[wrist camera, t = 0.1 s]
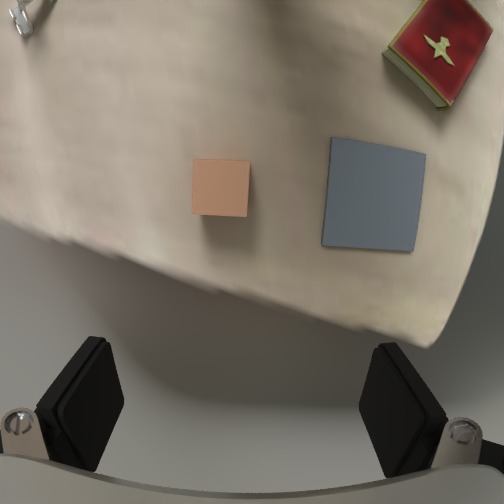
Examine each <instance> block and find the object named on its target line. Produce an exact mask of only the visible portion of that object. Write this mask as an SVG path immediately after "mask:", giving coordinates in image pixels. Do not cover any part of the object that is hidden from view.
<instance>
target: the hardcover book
mask: <svg viewBox="0 0 504 504" xmlns="http://www.w3.org/2000/svg"><path fill="white" fill-rule="evenodd" d="M492 32H493V28H492V27H491V26H490V24H489V23H488V22H487V21H486V20H485V19H484V18H483V17H482V15H481V14H480V13H479V12H478V11H477V10H476V9H475V8H474V7H473V6H472V5H471V4H470V3H469V2H468V1H467V0H424V1H423V2H422V3H421V5H420V6H419V7H418V8H417V10H416V11H415V12H414V13H413V15H412V16H411V17H410V18H409V20H408V21H407V22H406V23H405V25H404V26H403V27H402V28H401V30H400V31H399V32H398V34H397V35H396V36H395V37H394V39H393V40H392V41H391V42H390V44H389V45H388V46H387V47H386V49H385V50H384V51H383V53H382V54H383V55H384V56H385V57H386V58H387V59H389V60H390V61H391V62H392V63H393V64H394V65H395V66H396V67H398V68H399V69H400V70H401V71H402V72H403V73H404V74H405V75H406V76H407V77H408V78H409V79H411V80H412V81H413V82H414V83H415V84H416V85H417V86H418V87H419V88H420V89H421V90H422V91H423V92H424V93H425V94H426V95H427V96H428V97H429V98H430V99H431V100H432V101H433V103H434V104H435V105H436V106H437V108H436V109H437V110H439V111H443V110H447V109H449V108H450V107H451V105H452V104H453V102H454V101H455V99H456V97H457V95H458V94H459V92H460V90H461V89H462V87H463V85H464V83H465V82H466V80H467V78H468V77H469V75H470V73H471V71H472V69H473V68H474V66H475V64H476V62H477V60H478V58H479V57H480V55H481V53H482V51H483V49H484V47H485V45H486V43H487V41H488V40H489V38H490V36H491V34H492Z"/></svg>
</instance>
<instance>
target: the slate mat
mask: <svg viewBox="0 0 504 504" xmlns="http://www.w3.org/2000/svg"><path fill="white" fill-rule="evenodd" d="M425 160H426V154H423V153H419V152H414V151H410V150H405V149H400V148H395V147H390V146H384V145H379V144H373V143H367V142H361V141H355V140H348V139H341V138H334V137H331V146H330V159H329V172H328V183H327V194H326V205H325V214H324V224H323V232H322V241H321V245H323V246H339V247H355V248H370V249H385V250H399V251H414V245H415V240H416V234H417V228H418V221H419V214H420V207H421V200H422V191H423V182H424V172H425Z"/></svg>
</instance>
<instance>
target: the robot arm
mask: <svg viewBox="0 0 504 504" xmlns="http://www.w3.org/2000/svg"><path fill="white" fill-rule="evenodd" d="M36 406H37V408H36V410H35V411H34V412H33V411H32V410H30V409H28V408H16V409H13V410H10V411H9V412H7V413H6V414H5V416H3V418H2V420H1V423H0V504H504V446H503V445H500V444H496V443H493V442H490V441H486V440H483V439H482V437H483V435H482V430H481V428H480V426H479V425H478V424H477V423H476V422H474V421H473V420H471V419H469V418H465V417H455V418H453V419H450V420H448V418H447V417H446V413H445V411H444V410H443V408H442V407H441V405H440V404H439V403H438V401H437V400H436V398H435V397H434V395H433V394H432V392H431V391H430V389H429V388H428V387H427V385H426V384H425V382H424V381H423V379H422V378H421V377H420V375H419V374H418V373H417V371H416V370H415V368H414V367H413V365H412V364H411V363H410V361H409V360H408V358H407V357H406V356H405V354H404V353H403V352H402V350H401V349H400V348H399V346H398V345H397V344H396V343H395V342H392V343H381V344H380V345H379V346H378V348H375V349H374V351H373V355H372V359H371V363H370V367H369V370H368V374H367V378H366V381H365V385H364V388H363V391H362V395H361V398H360V401H359V411H360V413H361V416H362V419H363V421H364V424H365V426H366V429H367V431H368V433H369V436H370V439H371V441H372V444H373V447H374V449H375V452H376V454H377V457H378V460H379V462H380V465H381V467H382V470H383V473H384V475H385V477H386V478H388V479H383V480H379V481H373V482H367V483H362V484H357V485H350V486H344V487H337V488H328V489H320V490H310V491H297V492H281V493H227V492H208V491H196V490H186V489H178V488H170V487H162V486H156V485H149V484H143V483H138V482H133V481H128V480H123V479H119V478H114V477H110V476H105V475H102V474H97V473H93V472H95V471H96V469H97V467H98V464H99V462H100V459H101V457H102V454H103V452H104V450H105V447H106V445H107V443H108V440H109V438H110V436H111V433H112V431H113V429H114V426H115V424H116V422H117V420H118V417H119V415H120V413H121V410H122V408H123V406H124V397H123V393H122V389H121V385H120V382H119V378H118V374H117V370H116V366H115V362H114V358H113V353H112V349H111V345H110V343H109V342H107V341H106V339H105V338H102V337H93V336H89V337H88V338H87V340H86V341H85V342H84V343H83V344H82V346H81V347H80V348H79V349H78V351H77V352H76V353H75V354H74V356H73V357H72V358H71V360H70V361H69V362H68V363H67V365H66V366H65V367H64V369H63V370H62V372H61V373H60V374H59V375H58V376H57V378H56V379H55V380H54V382H53V383H52V384H51V386H50V387H49V389H48V390H47V391H46V393H45V394H44V395H43V397H42V398H41V399H40V401H39V402H38V404H37V405H36Z"/></svg>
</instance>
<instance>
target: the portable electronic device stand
mask: <svg viewBox="0 0 504 504" xmlns="http://www.w3.org/2000/svg"><path fill="white" fill-rule="evenodd" d="M32 1H33V0H17V2H18V7H17V8H15V9H13V10H12V9H10V10H9V11H10V13H11V15H12V18H13V19H14V20H15V21H16V23H17V25H16V26H17V28H18V30H19V32H20V34H21V35H22V36H23V37H27V36H29V35H30V34H31V33H32V32H33V28H32V25H31V23H30V20H29V18H28V15H27V12H26V9H25V7H26V5H28V4H29V3H30V2H32ZM21 6H22V7H21ZM22 8H23V9H22ZM23 11H24V12H23Z"/></svg>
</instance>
